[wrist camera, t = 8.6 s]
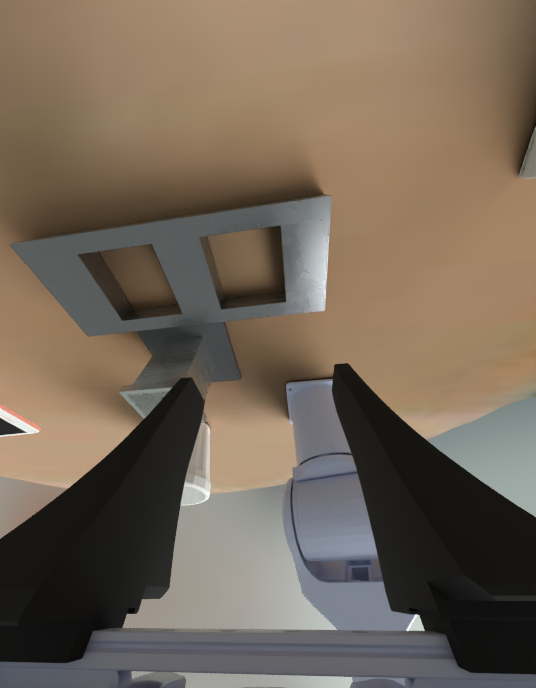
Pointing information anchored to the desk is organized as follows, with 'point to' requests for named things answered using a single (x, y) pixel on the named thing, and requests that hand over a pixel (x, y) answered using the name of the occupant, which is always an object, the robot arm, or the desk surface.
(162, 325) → the grey flat block
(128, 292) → the desk surface
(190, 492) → the cup
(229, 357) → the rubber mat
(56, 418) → the desk surface
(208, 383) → the grey boxy piece
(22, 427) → the cell phone
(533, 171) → the skincare box
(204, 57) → the desk surface
